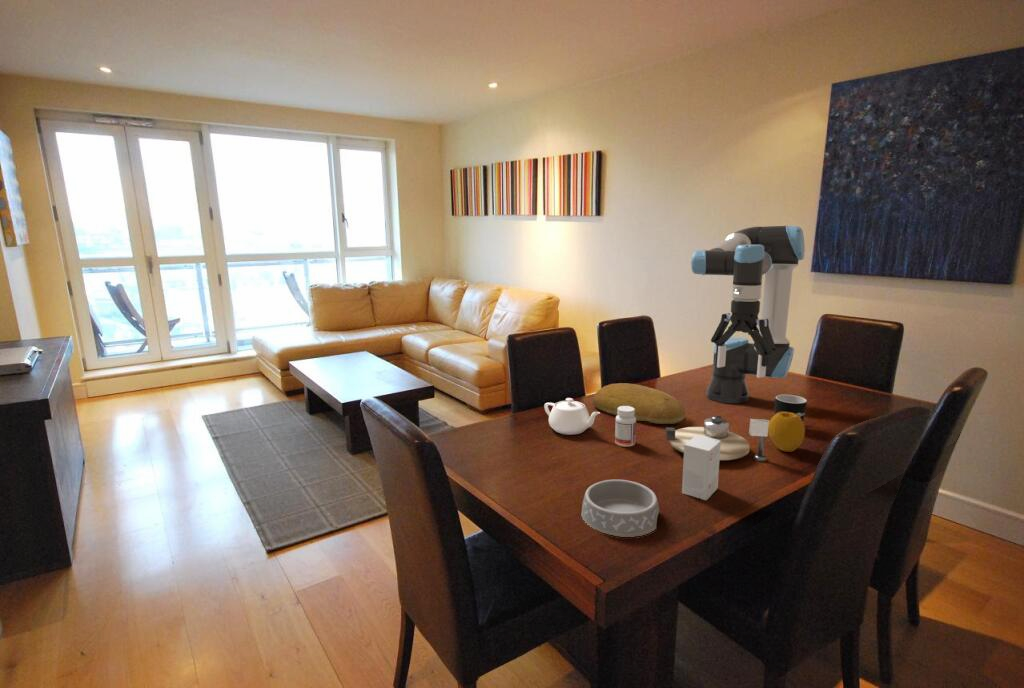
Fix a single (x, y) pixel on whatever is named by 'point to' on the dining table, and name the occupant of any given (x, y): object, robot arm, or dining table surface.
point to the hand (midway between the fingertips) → (740, 371)
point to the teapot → (569, 417)
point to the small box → (701, 467)
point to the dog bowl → (620, 508)
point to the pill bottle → (625, 426)
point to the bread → (640, 402)
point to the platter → (729, 446)
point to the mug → (791, 405)
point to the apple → (786, 431)
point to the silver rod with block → (759, 429)
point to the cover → (716, 427)
